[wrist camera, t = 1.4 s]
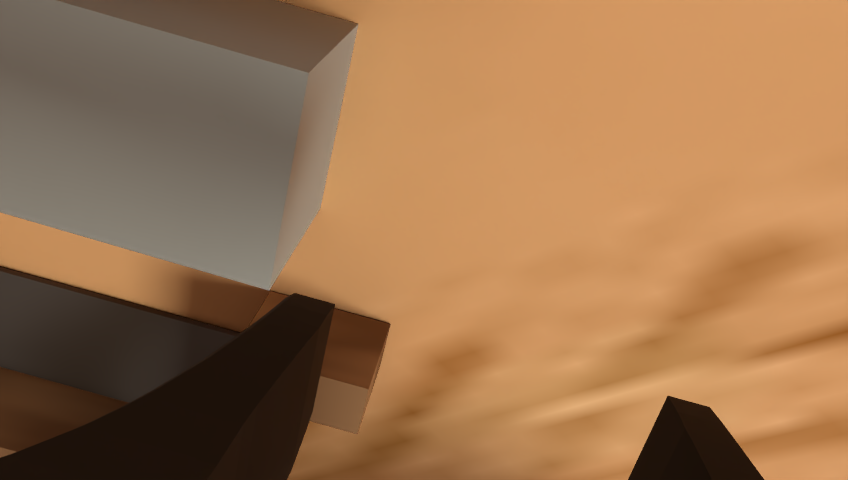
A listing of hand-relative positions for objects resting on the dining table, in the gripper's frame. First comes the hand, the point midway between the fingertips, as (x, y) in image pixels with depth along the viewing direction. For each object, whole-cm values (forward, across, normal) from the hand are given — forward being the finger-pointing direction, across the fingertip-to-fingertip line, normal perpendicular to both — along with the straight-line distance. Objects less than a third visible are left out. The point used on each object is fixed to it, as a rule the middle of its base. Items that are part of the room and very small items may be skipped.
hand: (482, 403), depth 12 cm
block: (+10, +8, 0) cm, 12 cm away
